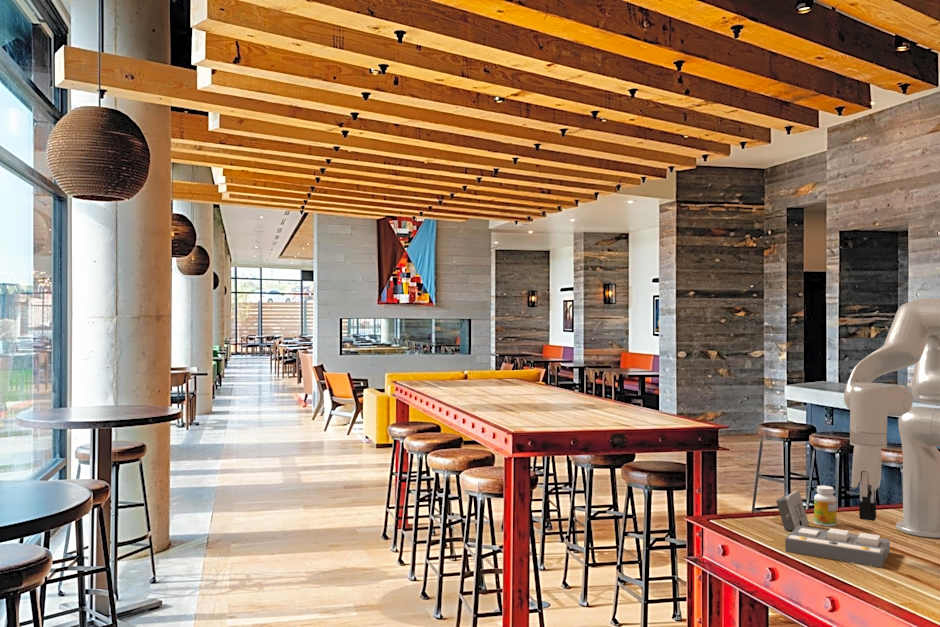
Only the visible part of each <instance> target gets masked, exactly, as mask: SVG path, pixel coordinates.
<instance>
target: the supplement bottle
mask: <svg viewBox="0 0 940 627" xmlns="http://www.w3.org/2000/svg"><path fill="white" fill-rule="evenodd" d="M834 490H835V488H834V487H833V486H830V485H829V486H828V485H817V486H816V492H817V494H815V495H814V497H813V498H814V501H813V506H814V509H813V510H814V511H813V514H814V515H813V516H814V518H813V521H814V524H816V525H818V526H821V525H825V526H824V527H835V526H836V525H837V522H838V521H837V520H838V519H837V506H838V505H837V503H838V502H837V501H838V500H837V497H836V496H835V495H834V492H835V491H834ZM834 525H835V526H834Z"/></svg>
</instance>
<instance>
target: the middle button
mask: <svg viewBox="0 0 940 627" xmlns="http://www.w3.org/2000/svg"><path fill="white" fill-rule="evenodd" d="M828 530H829V531H828V532H827V539H831V540H837V541H843V542H848V540H849V533H850V530H846V529H845V530H844V529H841V528H840V529H839V528H832V527H829V529H828Z"/></svg>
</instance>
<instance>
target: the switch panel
mask: <svg viewBox="0 0 940 627" xmlns="http://www.w3.org/2000/svg"><path fill="white" fill-rule="evenodd" d="M801 528H806V529H812V530H819V535H818V536H817V537H812V536H806V535H799V534H798V531H799V530H800V529H801ZM828 531H829V529H824V528H823V529H822V528H817V527H811V526H810V527H809V526H807V527H804V526H797V527H796V528H795V529H794V530H791V532H790V533H789V534H788V535H787V536H786V537H785V538H784V540H785V542H784V543H785V544H784V546H785V552H787V551H788V553H793V554H799V555H804V556H810V557H811V556H812V557H816V556H817V557H818V558H822V557H825V558H824V559H828V558H831V559H830V560H833V559H837V560H836V561H839V560H842V561H841V562H845V561H848V562H847V563H851V562H854V563H853V564H857V563H858V565H862V564H865V565H864V566H868V565H872V566H871V567H874V566H877V567H876V568H880V567H882V568H883V566H884V564H885V562H886V560H887V558H888V557H889V555H888V554H890V553H889V552H890V551H891V550H890V547H891V546H890V544H891V542H890V539H888V538H884V537H883V538H882V537H880V546H879V547H875V546H869V545H862V544H858V536H859V535H860V534H856V533H850V532H849V540H848V542H843V541H837V540H831V539H827V532H828Z"/></svg>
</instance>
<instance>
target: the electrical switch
mask: <svg viewBox="0 0 940 627" xmlns="http://www.w3.org/2000/svg"><path fill="white" fill-rule="evenodd" d="M775 503H776V505H777V509H778V512H779V514H780V519H781V522H782V525H783V528H784V531H785V530H787V531H793V530H794V529H795V528H796V527H797V526H804V527H809V525H810V524H809V523H810V522H809V519H808V516H807V513H806V509H805V507H804V503H803V499H802V496H801V493H800V491H799V490H794V491H792V492H791V493H789V494H784V495H783V496H781V497H780V498H778V499H776V502H775Z"/></svg>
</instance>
